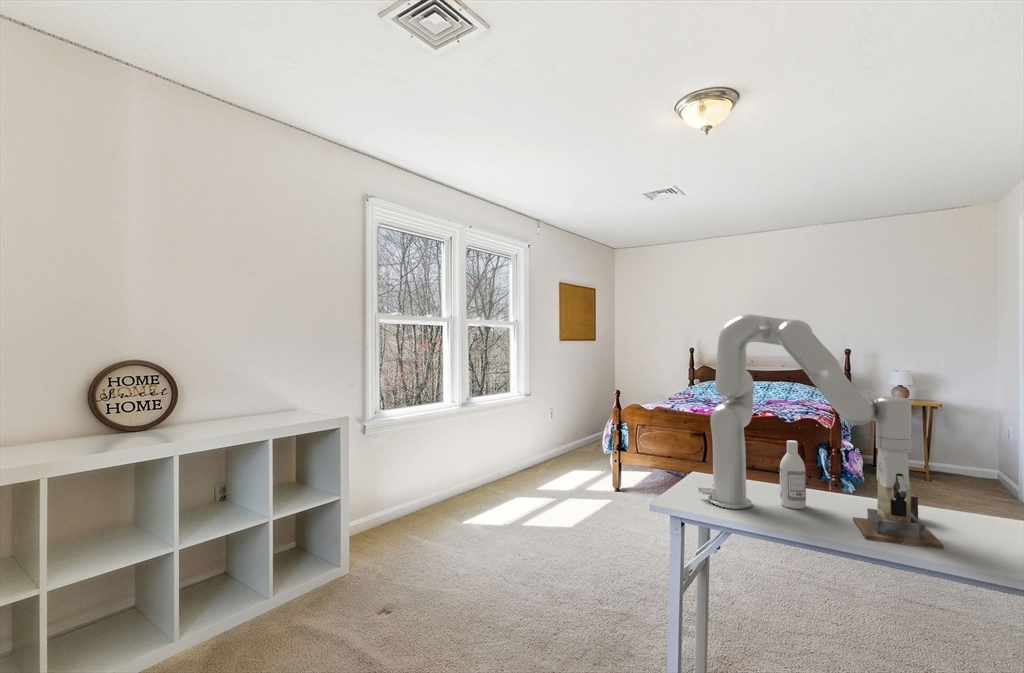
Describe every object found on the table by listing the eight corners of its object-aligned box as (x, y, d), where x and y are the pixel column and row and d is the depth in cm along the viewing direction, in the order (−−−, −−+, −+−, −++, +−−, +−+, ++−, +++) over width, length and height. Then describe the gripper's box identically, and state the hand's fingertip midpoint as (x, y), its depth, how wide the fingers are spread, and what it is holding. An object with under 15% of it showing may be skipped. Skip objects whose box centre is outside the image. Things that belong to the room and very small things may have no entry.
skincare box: (876, 520, 135) (876, 475, 135) (891, 520, 136) (891, 475, 136) (896, 529, 129) (896, 482, 129) (912, 529, 129) (911, 482, 129)
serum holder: (865, 539, 129) (865, 521, 129) (852, 520, 142) (852, 504, 142) (943, 548, 123) (943, 530, 123) (922, 528, 136) (922, 511, 136)
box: (919, 523, 140) (918, 496, 140) (894, 521, 141) (894, 495, 141) (906, 515, 146) (906, 490, 146) (883, 514, 147) (883, 489, 147)
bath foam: (811, 508, 153) (810, 442, 153) (794, 510, 150) (793, 444, 150) (791, 501, 159) (790, 438, 159) (775, 503, 157) (774, 440, 157)
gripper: (867, 436, 142) (868, 499, 142) (885, 449, 126) (886, 520, 126) (899, 438, 139) (900, 502, 139) (922, 452, 123) (923, 524, 123)
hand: (893, 510), depth 132 cm, fingers closed on skincare box, 7 cm apart
